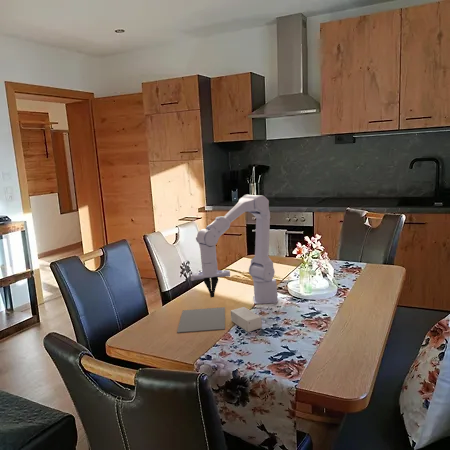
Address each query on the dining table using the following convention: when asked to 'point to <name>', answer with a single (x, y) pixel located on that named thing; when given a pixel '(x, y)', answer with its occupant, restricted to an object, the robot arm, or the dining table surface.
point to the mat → (202, 320)
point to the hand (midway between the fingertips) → (212, 296)
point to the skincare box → (246, 319)
